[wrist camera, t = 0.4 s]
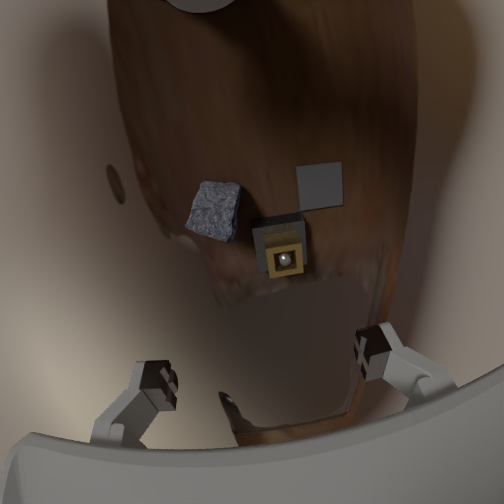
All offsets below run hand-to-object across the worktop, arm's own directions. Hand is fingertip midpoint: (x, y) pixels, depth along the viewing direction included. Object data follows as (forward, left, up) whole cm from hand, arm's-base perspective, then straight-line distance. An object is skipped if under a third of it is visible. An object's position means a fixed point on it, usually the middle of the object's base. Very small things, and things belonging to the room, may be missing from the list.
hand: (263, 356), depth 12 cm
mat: (+10, +15, -46) cm, 49 cm away
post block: (+20, +5, -46) cm, 50 cm away
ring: (+20, +5, -42) cm, 47 cm away
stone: (+10, -6, -46) cm, 48 cm away
